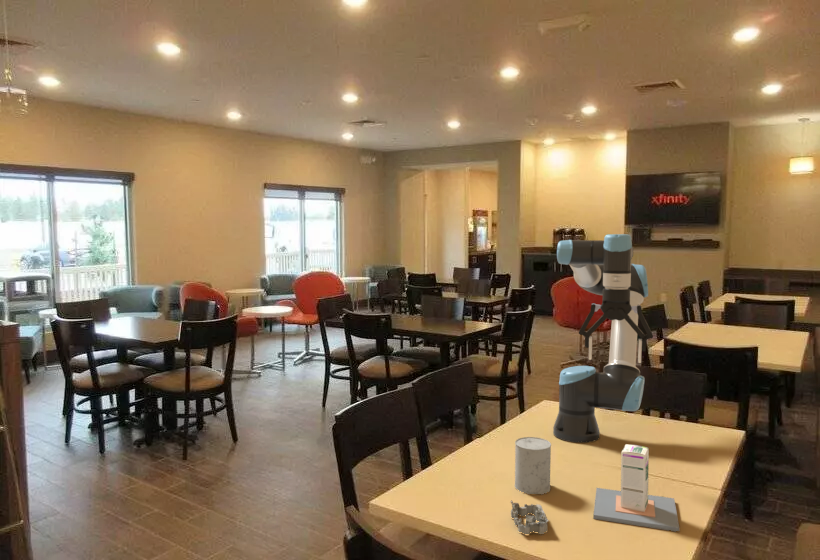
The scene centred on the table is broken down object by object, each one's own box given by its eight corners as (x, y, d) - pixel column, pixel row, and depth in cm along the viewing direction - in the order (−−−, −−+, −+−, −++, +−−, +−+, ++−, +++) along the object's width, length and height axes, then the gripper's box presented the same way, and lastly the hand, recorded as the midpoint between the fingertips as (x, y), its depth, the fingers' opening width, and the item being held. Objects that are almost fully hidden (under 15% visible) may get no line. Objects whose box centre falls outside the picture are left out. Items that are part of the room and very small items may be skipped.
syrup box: (645, 512, 144) (647, 454, 143) (619, 507, 147) (621, 450, 146) (648, 503, 149) (650, 447, 148) (623, 498, 152) (625, 443, 151)
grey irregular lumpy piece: (509, 515, 146) (509, 499, 146) (539, 514, 146) (539, 498, 146) (517, 537, 136) (517, 519, 135) (550, 536, 136) (550, 519, 135)
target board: (593, 518, 144) (593, 513, 143) (596, 491, 159) (596, 486, 158) (679, 532, 137) (679, 527, 137) (673, 502, 152) (674, 497, 152)
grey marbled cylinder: (552, 482, 164) (552, 439, 163) (548, 497, 155) (549, 451, 154) (517, 477, 167) (518, 435, 166) (511, 492, 158) (512, 447, 157)
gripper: (570, 287, 171) (569, 360, 173) (664, 290, 163) (661, 366, 165) (572, 285, 178) (571, 354, 180) (662, 287, 170) (660, 360, 172)
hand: (614, 360), depth 172 cm, fingers open, 13 cm apart
